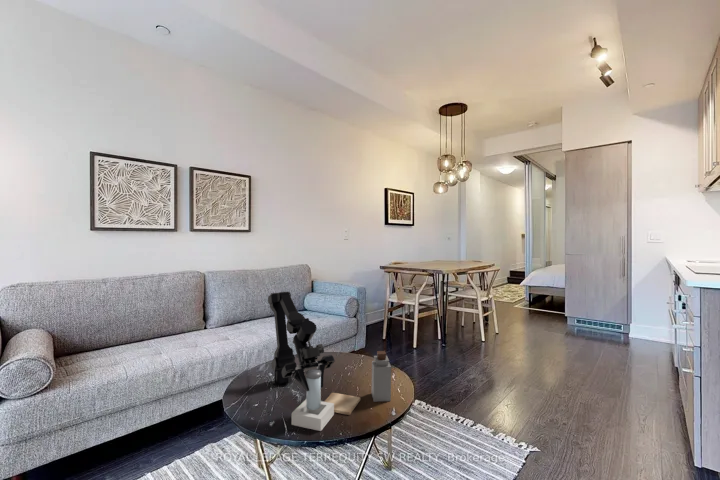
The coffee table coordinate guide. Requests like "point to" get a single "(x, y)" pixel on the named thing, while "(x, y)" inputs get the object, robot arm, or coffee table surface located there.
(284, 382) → the robot arm
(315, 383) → the cylinder
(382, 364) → the perfume bottle
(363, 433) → the coffee table surface
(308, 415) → the box
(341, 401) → the board
